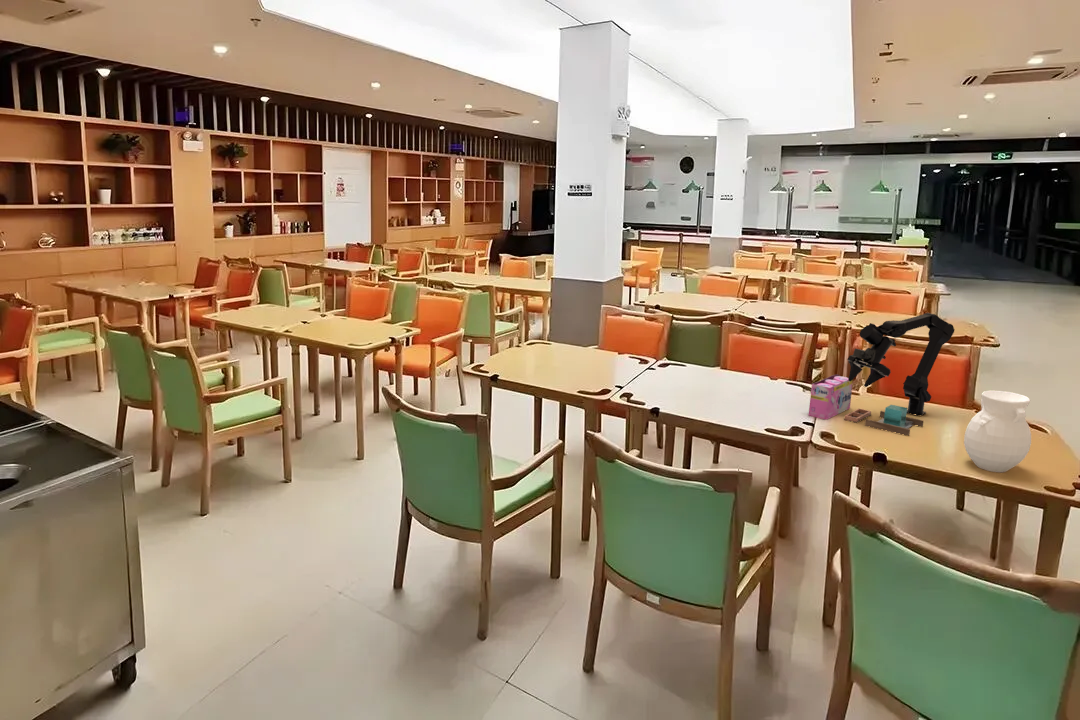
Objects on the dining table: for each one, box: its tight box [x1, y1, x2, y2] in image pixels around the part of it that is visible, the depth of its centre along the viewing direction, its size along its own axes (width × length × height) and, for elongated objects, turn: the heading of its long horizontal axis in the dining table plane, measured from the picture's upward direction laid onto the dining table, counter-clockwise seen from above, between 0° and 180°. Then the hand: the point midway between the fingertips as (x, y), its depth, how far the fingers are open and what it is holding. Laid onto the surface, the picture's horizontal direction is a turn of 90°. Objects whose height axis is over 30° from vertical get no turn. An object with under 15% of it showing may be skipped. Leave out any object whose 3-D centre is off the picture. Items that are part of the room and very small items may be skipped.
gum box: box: [808, 374, 854, 421], centre depth 289 cm, size 24×8×14 cm, turn 134°
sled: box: [876, 404, 914, 429], centre depth 273 cm, size 13×10×7 cm
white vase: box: [963, 389, 1032, 473], centre depth 231 cm, size 19×18×25 cm
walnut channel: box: [864, 410, 924, 437], centre depth 273 cm, size 16×16×2 cm
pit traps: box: [844, 408, 872, 423], centre depth 283 cm, size 14×5×2 cm, turn 135°
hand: (857, 383), depth 278 cm, fingers open, 9 cm apart
